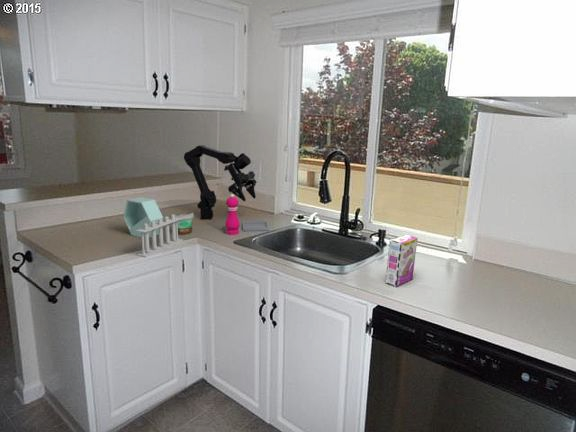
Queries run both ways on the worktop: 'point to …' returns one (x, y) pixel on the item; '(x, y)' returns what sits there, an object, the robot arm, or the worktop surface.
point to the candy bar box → (401, 260)
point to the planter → (141, 215)
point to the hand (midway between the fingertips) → (250, 199)
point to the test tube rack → (159, 225)
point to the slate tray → (255, 226)
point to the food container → (184, 223)
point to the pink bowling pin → (232, 216)
